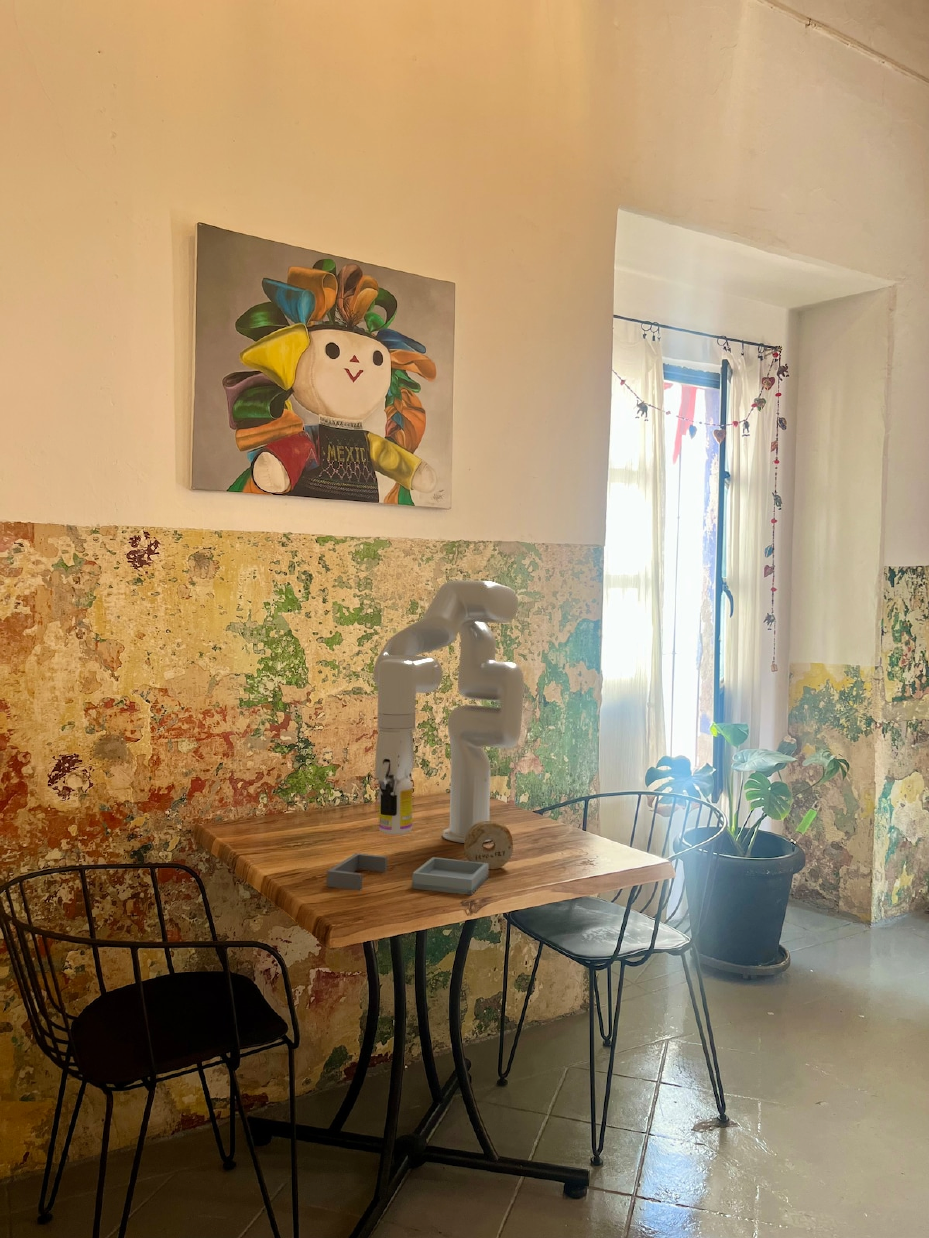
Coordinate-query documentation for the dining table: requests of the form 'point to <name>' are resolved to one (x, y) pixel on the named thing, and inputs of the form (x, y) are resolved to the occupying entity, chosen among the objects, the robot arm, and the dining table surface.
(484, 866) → the tray
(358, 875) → the bay
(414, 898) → the dining table surface
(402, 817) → the supplement bottle
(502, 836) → the stone disc
